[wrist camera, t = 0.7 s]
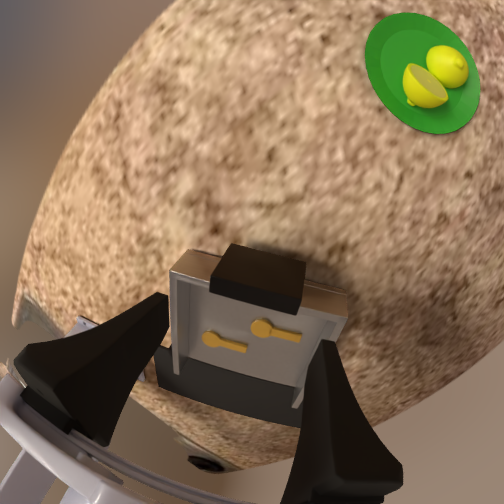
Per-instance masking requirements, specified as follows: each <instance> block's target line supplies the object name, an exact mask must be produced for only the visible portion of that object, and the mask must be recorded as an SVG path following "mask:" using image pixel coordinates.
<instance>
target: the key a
mask: <svg viewBox="0 0 504 504" xmlns="http://www.w3.org/2000/svg"><path fill="white" fill-rule="evenodd" d="M202 341H203V342H204V343H205V344H206V345H208V346H210V347H218V346H222V347H225V348H228V349H232V350H235V351H239V352H242V353H246V351H247V345H244V344H240V343H237V342H233V341H230V340H226V339H223V338H221V337H220V336H219V335H218V334H217V333H215V332H213V331H205V332H204V333H203V334H202Z"/></svg>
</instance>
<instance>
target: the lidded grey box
mask: <svg viewBox="0 0 504 504" xmlns="http://www.w3.org/2000/svg"><path fill="white" fill-rule="evenodd" d="M305 272H306V262H303V261H299V260H295V259H292V258H288V257H284V256H280V255H276V254H272V253H268V252H264V251H260V250H256V249H252V248H249V247H245V246H241V245H237V244H233V243H231V244H230V246H229V247H228V249H227V251H226V252H225V254H224V255H223V257H222V258H219V257H215V256H211V255H207V254H204V253H200V252H196V251H193V250H189V249H188V250H187V251H186V252H185V253H184V254H183V255H182V256H181V258H180V259H179V260H178V261H177V262H176V263H175V264H174V265H173V267H172V268H171V269H170V270H169V277H170V319H171V340H172V356H173V369H174V373H175V374H177V375H180V373H181V371H182V369H183V367H184V365H185V363H186V361H187V359H188V357H190V358H193V359H196V360H199V361H202V362H205V363H208V364H211V365H215V366H218V367H221V368H224V369H228V370H231V371H234V372H238V373H241V374H245V375H249V376H252V377H256V378H260V379H264V380H268V381H272V382H276V383H280V384H284V385H289V386H293V387H295V388H294V394H293V400H292V406H291V407H292V408H298V407H299V405H300V403H301V402H302V400H303V397H304V385H305V380H306V374H307V369H308V365H309V363H310V361H311V359H312V357H313V355H314V353H315V351H316V349H317V347H318V345H319V343H320V341H321V339H326V340H330V341H335V343H336V341H337V339H338V337H339V335H340V333H341V331H342V329H343V327H344V325H345V324H346V322H347V320H348V308H347V296H346V290H342V289H338V288H334V287H330V286H326V285H323V284H319V283H315V282H311V281H307V280H305ZM257 319H264V320H267V321H269V322H270V323H271V324H272V325H273V327H276V328H280V329H284V330H288V331H292V332H296V333H300V334H302V337H301V340H300V342H299V343H298V342H294V341H290V340H286V339H281V338H278V337H274V336H269V337H266V338H261V337H258V336H256V335H254V334H253V333H252V331H251V324H252V322H253V321H255V320H257ZM205 331H213V332H215V333H217V334H218V335H219V336H220V337H221V338H223V339H226V340H230V341H233V342H237V343H240V344H244V345H247V351H246V353H242V352H239V351H235V350H232V349H228V348H225V347H222V346H218V347H210V346H208V345H206V344H205V343H204V342H203V341H202V334H203V333H204V332H205Z"/></svg>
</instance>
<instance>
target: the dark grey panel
mask: <svg viewBox="0 0 504 504" xmlns="http://www.w3.org/2000/svg"><path fill="white" fill-rule="evenodd" d="M154 361H155V368H156V374H157V379H158V385H159V387H161V388H163V389H166V390H168V391H171V392H173V393H176V394H179V395H181V396H184V397H187V398H190V399H192V400H195V401H198V402H201V403H204V404H207V405H210V406H213V407H217V408H220V409H223V410H226V411H230V412H233V413H237V414H240V415H244V416H248V417H252V418H256V419H260V420H264V421H268V422H273V423H277V424H282V425H287V426H292V427H297V428H301V421H302V409H303V400H302V402H301V403H300V405H299V407H298V408H292V407H291V406H292V400H293V394H294V388H295V387H293V386H289V385H284V384H280V383H276V382H272V381H268V380H264V379H260V378H256V377H252V376H249V375H245V374H241V373H238V372H234V371H231V370H228V369H224V368H221V367H218V366H215V365H211V364H208V363H205V362H202V361H199V360H196V359H193V358H190V357H188V359H187V361H186V363H185V365H184V367H183V369H182V371H181V373H180V375H177V374H175V373H174V369H173V357H171V356H169V348H166V347H163V346H161V345H160V346H159V347H158V349H157V350H156V352H155V353H154Z"/></svg>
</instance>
